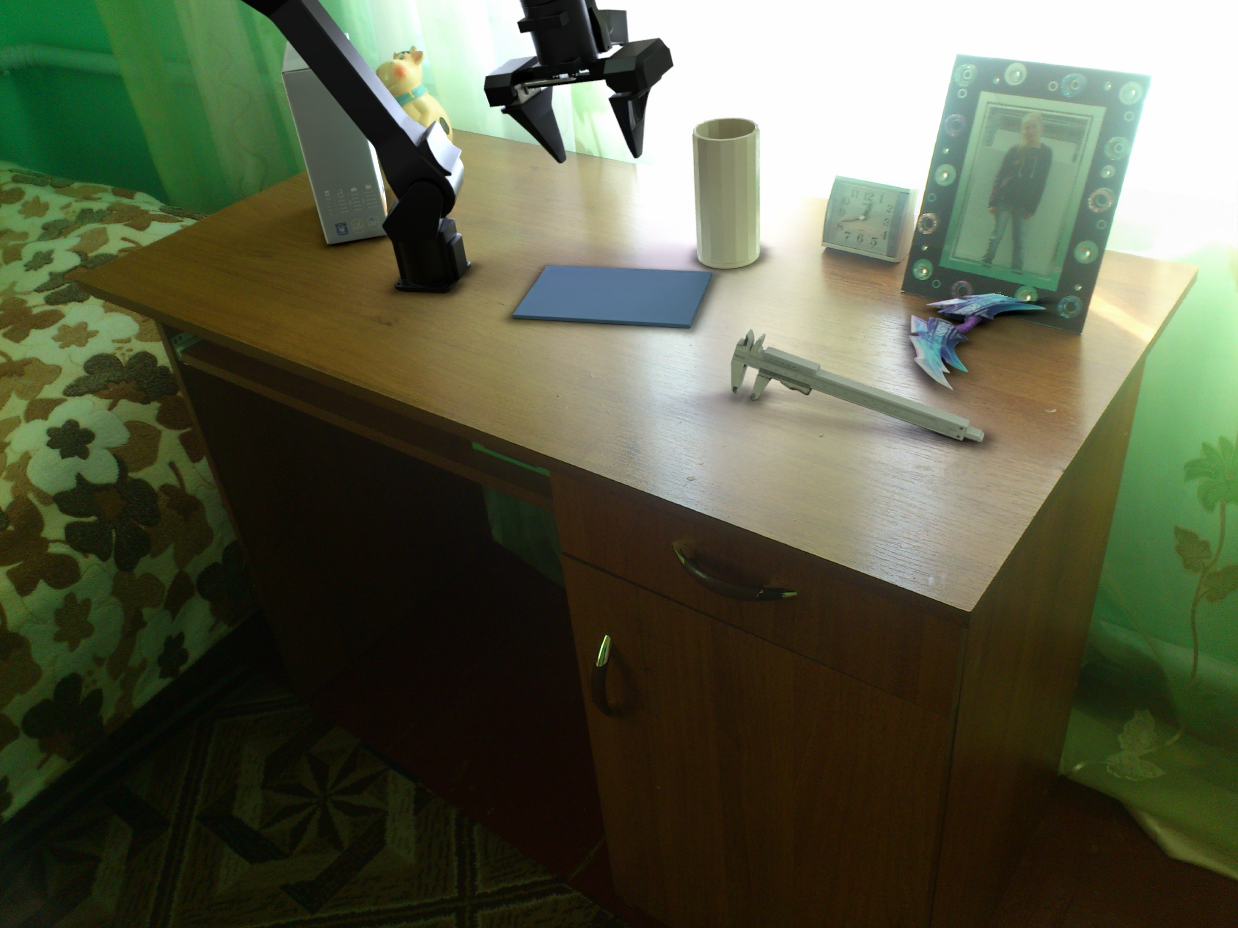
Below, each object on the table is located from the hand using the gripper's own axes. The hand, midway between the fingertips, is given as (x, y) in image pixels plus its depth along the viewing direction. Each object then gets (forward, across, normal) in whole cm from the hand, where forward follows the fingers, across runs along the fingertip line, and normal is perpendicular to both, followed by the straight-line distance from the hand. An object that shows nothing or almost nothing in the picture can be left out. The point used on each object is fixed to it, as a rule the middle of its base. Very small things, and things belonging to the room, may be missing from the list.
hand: (599, 159), depth 98 cm
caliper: (+16, -30, +18) cm, 39 cm away
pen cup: (+14, -9, -6) cm, 17 cm away
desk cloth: (+12, -2, +7) cm, 14 cm away
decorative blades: (+18, -35, +1) cm, 39 cm away
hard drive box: (+6, +39, 0) cm, 39 cm away
